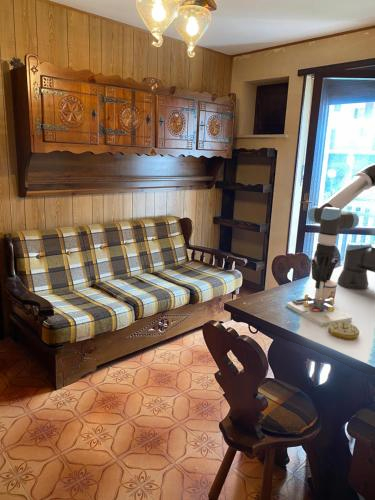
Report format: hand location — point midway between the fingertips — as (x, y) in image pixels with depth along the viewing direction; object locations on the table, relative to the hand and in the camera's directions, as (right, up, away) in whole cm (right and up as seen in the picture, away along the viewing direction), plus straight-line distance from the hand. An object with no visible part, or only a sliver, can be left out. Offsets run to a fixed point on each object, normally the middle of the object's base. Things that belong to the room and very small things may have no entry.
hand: (318, 295), depth 172 cm
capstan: (-2, -5, -6) cm, 8 cm away
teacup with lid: (+7, -4, +11) cm, 13 cm away
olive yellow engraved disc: (+1, -13, -24) cm, 27 cm away
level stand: (-2, -7, -5) cm, 9 cm away
